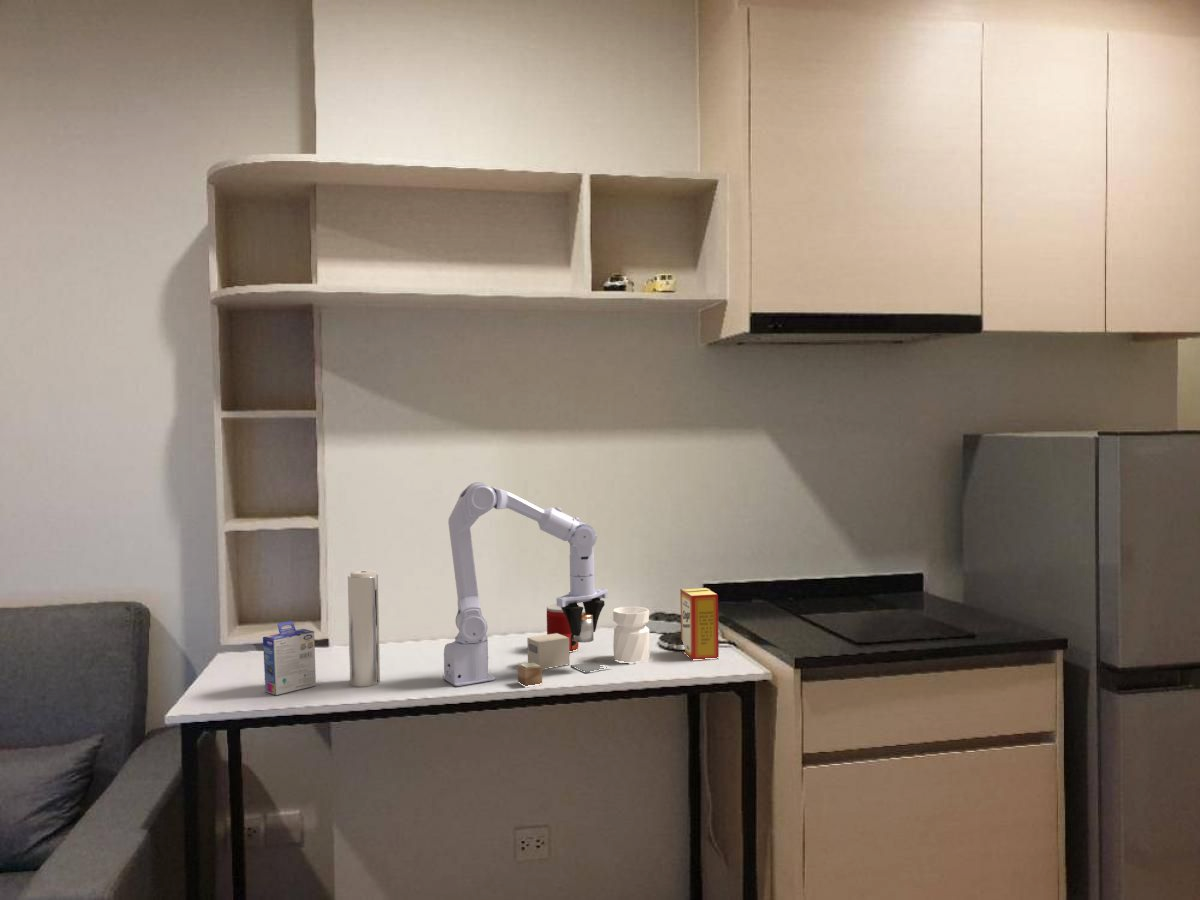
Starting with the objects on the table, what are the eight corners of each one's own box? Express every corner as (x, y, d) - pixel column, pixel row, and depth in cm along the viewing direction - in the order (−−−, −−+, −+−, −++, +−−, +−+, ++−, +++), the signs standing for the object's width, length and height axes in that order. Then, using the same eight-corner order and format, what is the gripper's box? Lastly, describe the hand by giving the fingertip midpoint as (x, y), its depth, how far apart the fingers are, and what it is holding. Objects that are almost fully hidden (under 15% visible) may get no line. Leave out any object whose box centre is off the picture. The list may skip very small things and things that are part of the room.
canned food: (578, 653, 222) (577, 609, 222) (546, 653, 222) (545, 610, 222) (578, 646, 230) (578, 603, 230) (547, 646, 230) (547, 604, 230)
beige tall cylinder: (368, 677, 203) (366, 568, 203) (386, 682, 199) (383, 570, 198) (344, 683, 198) (341, 571, 198) (361, 688, 194) (359, 574, 193)
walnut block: (525, 688, 193) (525, 668, 193) (518, 683, 197) (517, 664, 197) (542, 685, 195) (541, 665, 195) (534, 680, 199) (534, 661, 198)
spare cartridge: (584, 643, 203) (583, 617, 203) (570, 640, 206) (570, 614, 206) (597, 639, 206) (597, 614, 206) (584, 637, 209) (583, 611, 209)
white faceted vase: (631, 666, 209) (630, 615, 209) (606, 659, 216) (605, 610, 216) (657, 659, 215) (656, 610, 215) (632, 653, 222) (631, 605, 221)
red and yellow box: (718, 659, 215) (717, 592, 214) (692, 660, 213) (691, 594, 213) (706, 649, 224) (705, 586, 224) (681, 651, 223) (680, 587, 222)
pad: (586, 673, 203) (585, 671, 203) (570, 666, 209) (570, 665, 209) (611, 668, 207) (611, 667, 207) (596, 662, 213) (596, 660, 213)
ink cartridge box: (304, 681, 201) (303, 617, 200) (317, 686, 197) (316, 620, 197) (262, 691, 193) (261, 625, 193) (275, 696, 190) (274, 628, 189)
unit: (538, 670, 207) (538, 642, 207) (527, 664, 212) (526, 637, 212) (570, 665, 211) (570, 637, 211) (558, 659, 216) (558, 633, 216)
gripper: (592, 569, 214) (594, 625, 214) (547, 577, 204) (548, 636, 204) (613, 572, 209) (615, 629, 209) (567, 580, 199) (569, 640, 199)
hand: (583, 633), depth 206 cm, fingers closed on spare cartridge, 4 cm apart
